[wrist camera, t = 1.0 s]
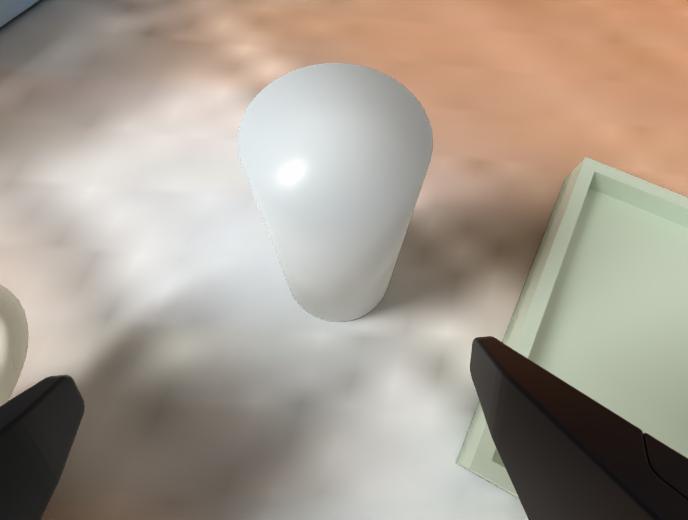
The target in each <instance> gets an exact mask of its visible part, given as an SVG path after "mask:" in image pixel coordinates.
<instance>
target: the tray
mask: <svg viewBox="0 0 688 520" xmlns="http://www.w3.org/2000/svg"><path fill="white" fill-rule="evenodd" d="M502 343H504V344H505V345H507V346H509V347H510V348H512V349H513V350H515V351H517V352H518V353H520V354H521V355H523V356H525V357H526V358H528V359H529V360H531V361H533V362H534V363H536V364H537V365H539V366H541V367H542V368H544V369H545V370H547V371H549V372H550V373H552V374H553V375H555V376H557V377H558V378H560V379H561V380H563V381H565V382H566V383H568V384H569V385H571V386H573V387H574V388H576V389H577V390H579V391H581V392H582V393H584V394H585V395H587V396H588V397H590V398H592V399H593V400H595V401H596V402H598V403H600V404H601V405H603V406H604V407H606V408H608V409H609V410H611V411H612V412H614V413H616V414H617V415H619V416H620V417H622V418H624V419H625V420H627V421H628V422H630V423H632V424H633V425H635V426H636V427H638V428H640V429H641V430H642V431H643V433H648V434H649V435H651V436H653V437H654V438H656V439H657V440H659V441H661V442H662V443H664V444H665V445H667V446H669V447H670V448H672V449H674V450H675V451H677V452H679V453H680V454H682V455H683V456H685V457H687V458H688V198H687V197H685V196H682V195H680V194H677V193H675V192H672V191H670V190H667V189H665V188H662V187H660V186H657V185H655V184H652V183H650V182H647V181H645V180H642V179H640V178H637V177H635V176H632V175H630V174H627V173H625V172H622V171H620V170H617V169H615V168H612V167H610V166H607V165H605V164H602V163H600V162H597V161H595V160H592V159H590V158H587V157H585V158H584V159H583V160H582V161H581V162H580V163H579V164H578V166H577V167H576V168H575V169H574V170H573V171H572V172H571V173H570V174H569V175H568V176H567V177H566V179H565V181H564V183H563V186H562V189H561V191H560V194H559V196H558V199H557V201H556V204H555V207H554V209H553V212H552V214H551V217H550V220H549V222H548V225H547V227H546V230H545V233H544V235H543V238H542V240H541V243H540V246H539V248H538V251H537V253H536V256H535V259H534V261H533V264H532V266H531V269H530V272H529V274H528V277H527V279H526V282H525V285H524V287H523V290H522V292H521V295H520V297H519V300H518V303H517V305H516V308H515V310H514V313H513V316H512V318H511V321H510V323H509V326H508V329H507V331H506V334H505V336H504V339H503V342H502ZM456 464H458V465H460V466H462V467H464V468H465V469H467V470H469V471H471V472H472V473H474V474H476V475H478V476H479V477H481V478H483V479H485V480H487V481H488V482H490V483H492V484H494V485H495V486H497V487H499V488H501V489H502V490H504V491H506V492H508V493H510V494H511V495H513V496H515V497H517V498H518V499H519V497H518V495H517V493H516V490H515V488H514V486H513V484H512V482H511V479H510V477H509V475H508V473H507V471H506V468H505V466H504V464H503V462H502V460H501V457H500V455H499V453H498V451H497V449H496V446H495V444H494V442H493V439H492V437H491V434H490V431H489V428H488V425H487V422H486V419H485V416H484V413H483V410H482V407H481V404H480V401H479V404H478V406H477V409H476V412H475V414H474V417H473V419H472V422H471V425H470V427H469V430H468V432H467V435H466V438H465V440H464V443H463V445H462V448H461V451H460V453H459V456H458V458H457V461H456Z"/></svg>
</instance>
